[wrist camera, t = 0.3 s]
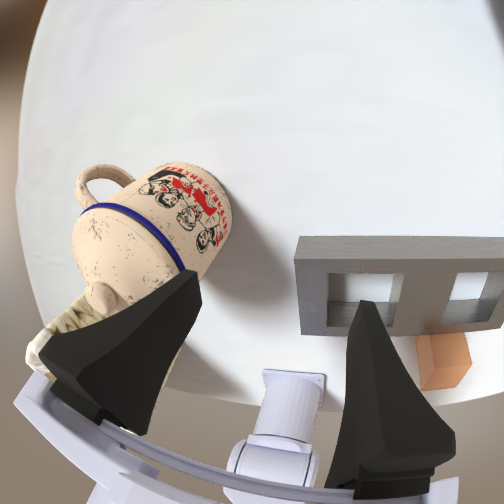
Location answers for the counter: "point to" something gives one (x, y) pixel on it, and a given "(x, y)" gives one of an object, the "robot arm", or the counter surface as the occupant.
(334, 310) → the grey slotted board
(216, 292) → the counter surface
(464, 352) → the orange brown block
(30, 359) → the storage basket
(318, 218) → the counter surface
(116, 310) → the teacup with lid
